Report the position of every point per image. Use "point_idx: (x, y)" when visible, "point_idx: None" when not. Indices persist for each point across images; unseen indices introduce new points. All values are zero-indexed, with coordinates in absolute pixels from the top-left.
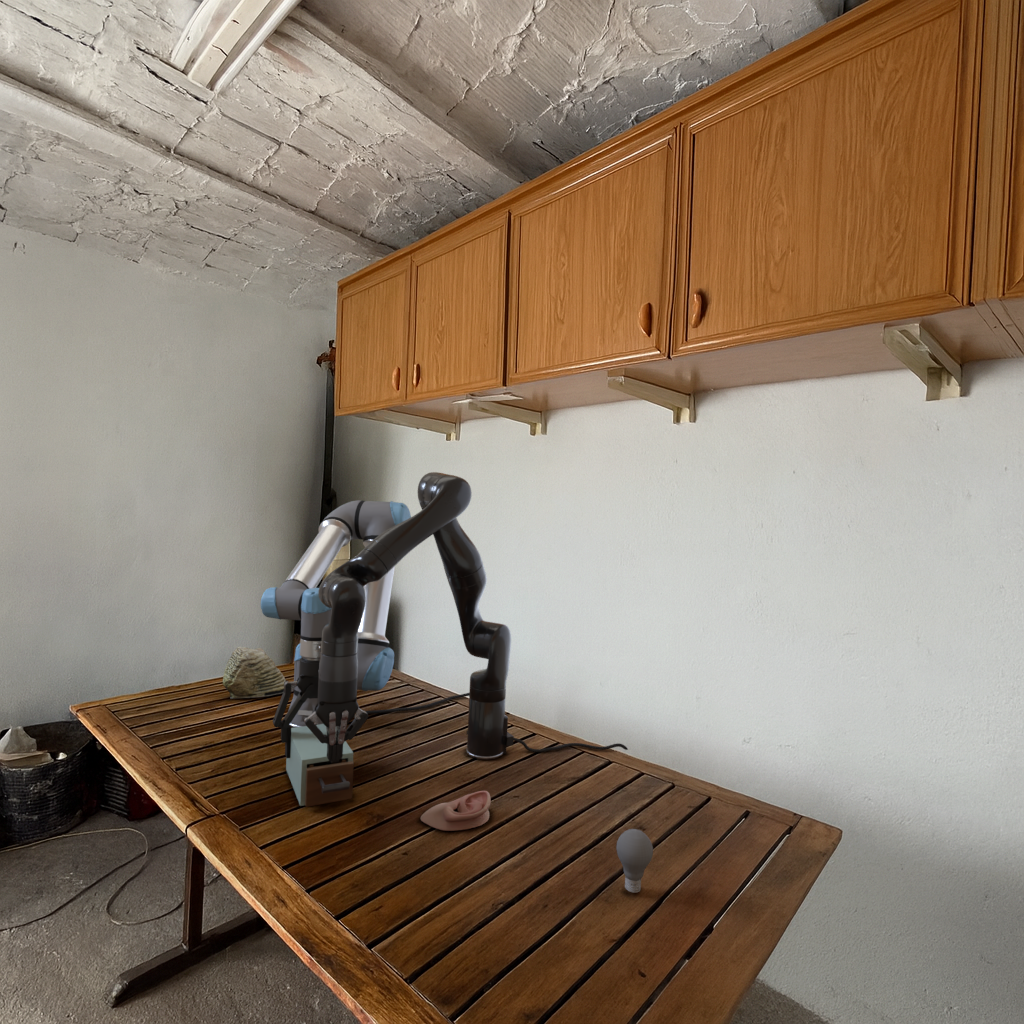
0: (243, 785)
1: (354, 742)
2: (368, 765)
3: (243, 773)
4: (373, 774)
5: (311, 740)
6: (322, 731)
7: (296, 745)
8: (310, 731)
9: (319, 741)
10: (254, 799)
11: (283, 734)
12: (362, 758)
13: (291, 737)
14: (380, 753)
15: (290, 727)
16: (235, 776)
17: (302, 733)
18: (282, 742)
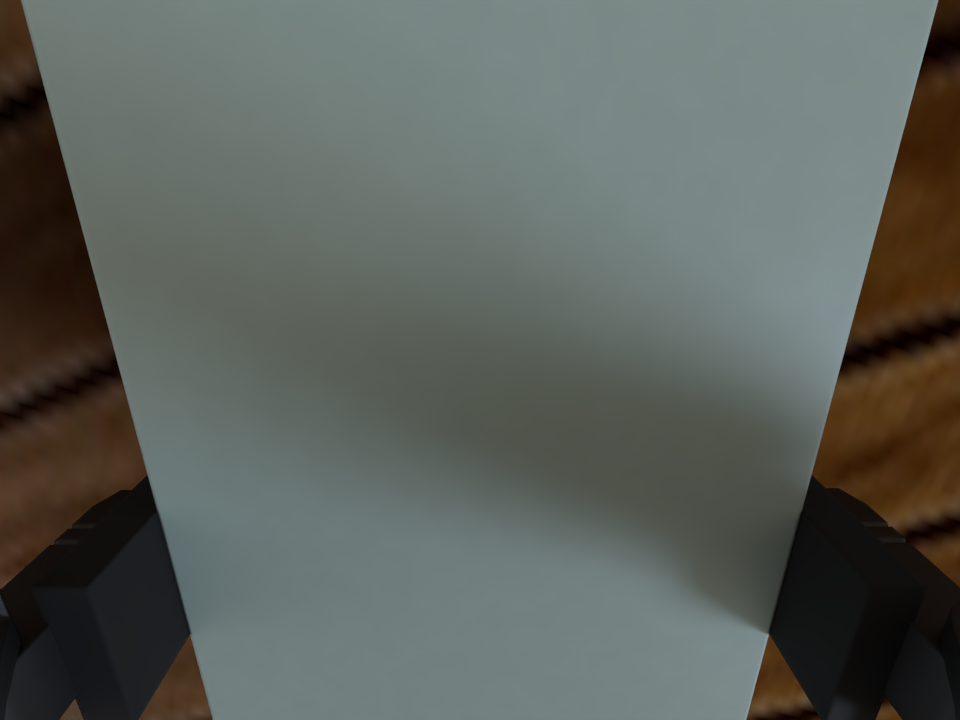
0: (920, 335)
1: (180, 662)
2: (99, 336)
3: (855, 493)
4: (62, 171)
5: (598, 252)
6: (377, 528)
7: (892, 113)
8: (526, 574)
9: (487, 152)
10: (950, 81)
11: (903, 558)
12: (139, 452)
13: (809, 475)
14: (18, 483)
15: (856, 642)
16: (909, 471)
17: (639, 546)
18: (839, 493)
